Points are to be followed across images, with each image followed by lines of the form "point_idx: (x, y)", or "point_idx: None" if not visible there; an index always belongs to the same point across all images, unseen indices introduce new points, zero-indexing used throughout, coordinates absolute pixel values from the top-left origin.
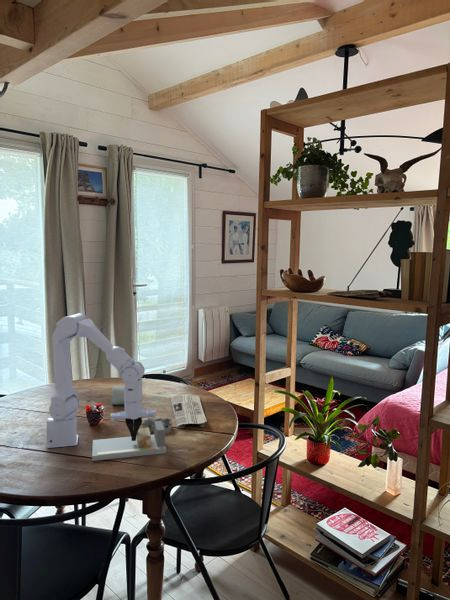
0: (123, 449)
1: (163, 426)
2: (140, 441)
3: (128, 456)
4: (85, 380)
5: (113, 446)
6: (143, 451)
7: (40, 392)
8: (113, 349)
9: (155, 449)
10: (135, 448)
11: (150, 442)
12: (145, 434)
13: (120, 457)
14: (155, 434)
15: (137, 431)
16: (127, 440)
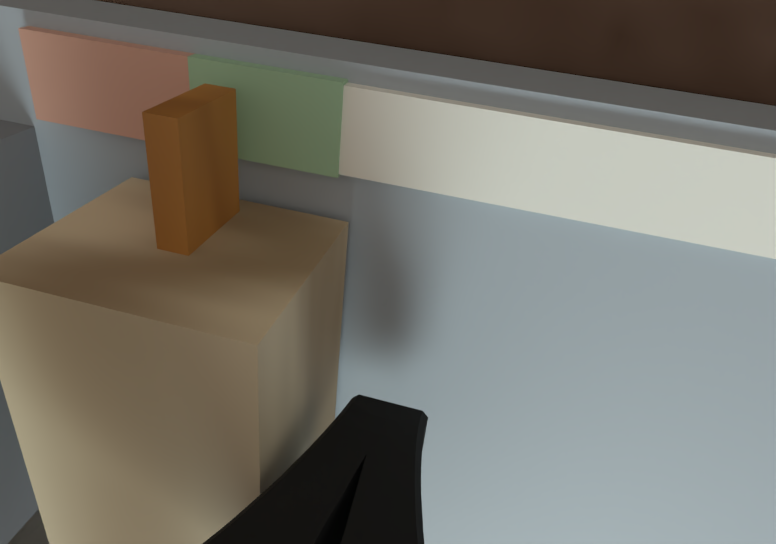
0: (641, 278)
1: None
2: (260, 270)
3: (589, 80)
4: None
5: (771, 461)
6: (278, 45)
7: None
8: None
9: (53, 24)
10: (407, 218)
11: (89, 205)
12: (94, 390)
13: (758, 103)
14: (3, 405)
15: (228, 526)
16: (469, 521)
